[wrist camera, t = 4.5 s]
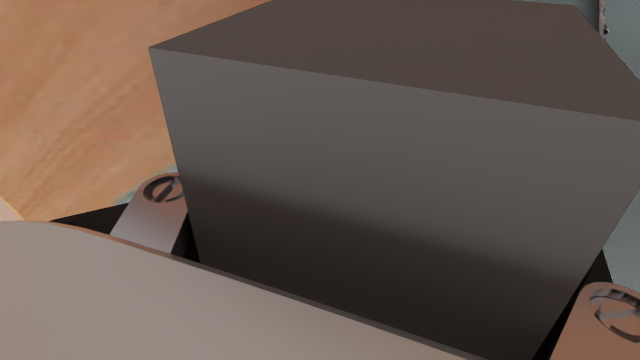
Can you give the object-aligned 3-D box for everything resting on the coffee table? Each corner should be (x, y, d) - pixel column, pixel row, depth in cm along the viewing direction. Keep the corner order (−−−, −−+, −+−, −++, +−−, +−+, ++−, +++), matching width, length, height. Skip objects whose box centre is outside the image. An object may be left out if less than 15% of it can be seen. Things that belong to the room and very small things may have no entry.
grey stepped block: (574, 5, 8) (677, 127, 3) (446, 347, 16) (425, 528, 11) (312, -16, 10) (148, 47, 5) (311, 302, 17) (244, 442, 13)
